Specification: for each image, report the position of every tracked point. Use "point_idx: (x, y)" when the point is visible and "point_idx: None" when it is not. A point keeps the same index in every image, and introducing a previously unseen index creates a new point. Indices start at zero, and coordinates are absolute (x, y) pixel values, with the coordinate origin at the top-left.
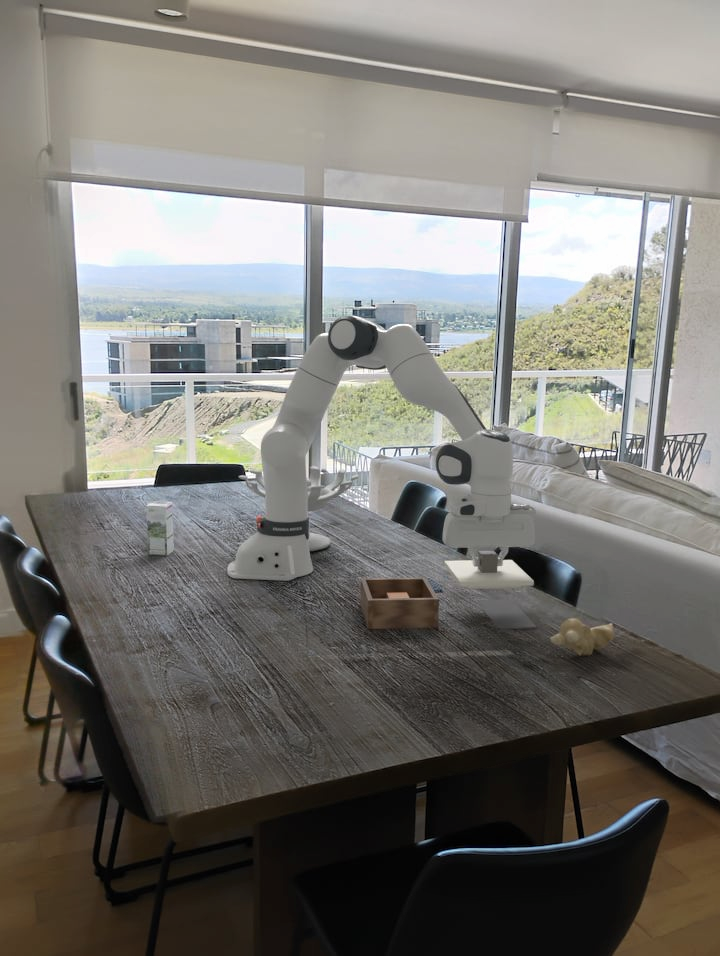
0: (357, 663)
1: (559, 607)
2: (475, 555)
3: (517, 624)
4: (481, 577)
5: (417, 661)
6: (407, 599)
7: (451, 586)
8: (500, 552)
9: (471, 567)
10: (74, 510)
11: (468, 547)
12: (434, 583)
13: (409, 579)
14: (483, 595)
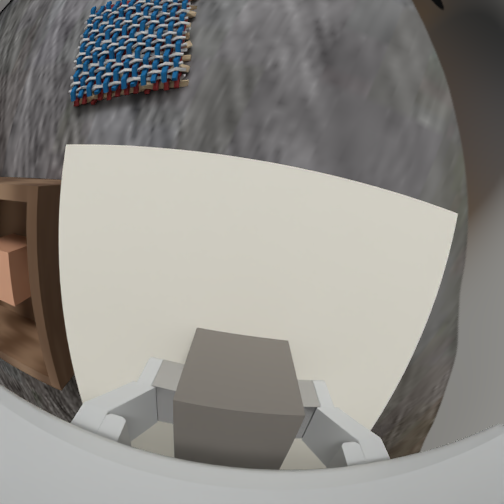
0: (13, 390)
1: (450, 269)
2: (137, 436)
3: None
4: (172, 430)
5: (70, 420)
6: (6, 360)
7: (246, 21)
8: (337, 429)
9: (165, 306)
10: None
11: (78, 419)
12: (180, 24)
13: (2, 198)
14: (315, 113)
